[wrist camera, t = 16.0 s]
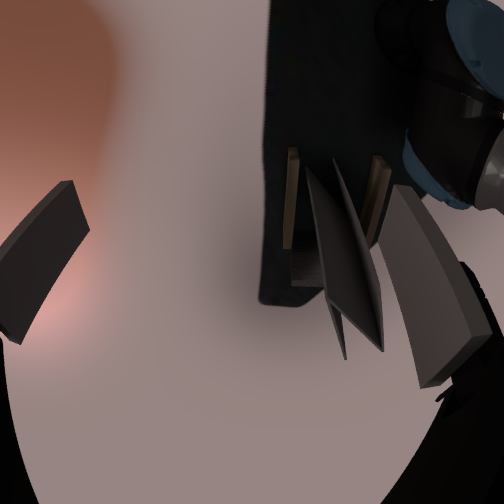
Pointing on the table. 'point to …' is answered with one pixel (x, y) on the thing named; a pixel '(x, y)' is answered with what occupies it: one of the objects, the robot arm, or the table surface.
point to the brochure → (346, 264)
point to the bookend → (305, 260)
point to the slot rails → (370, 205)
